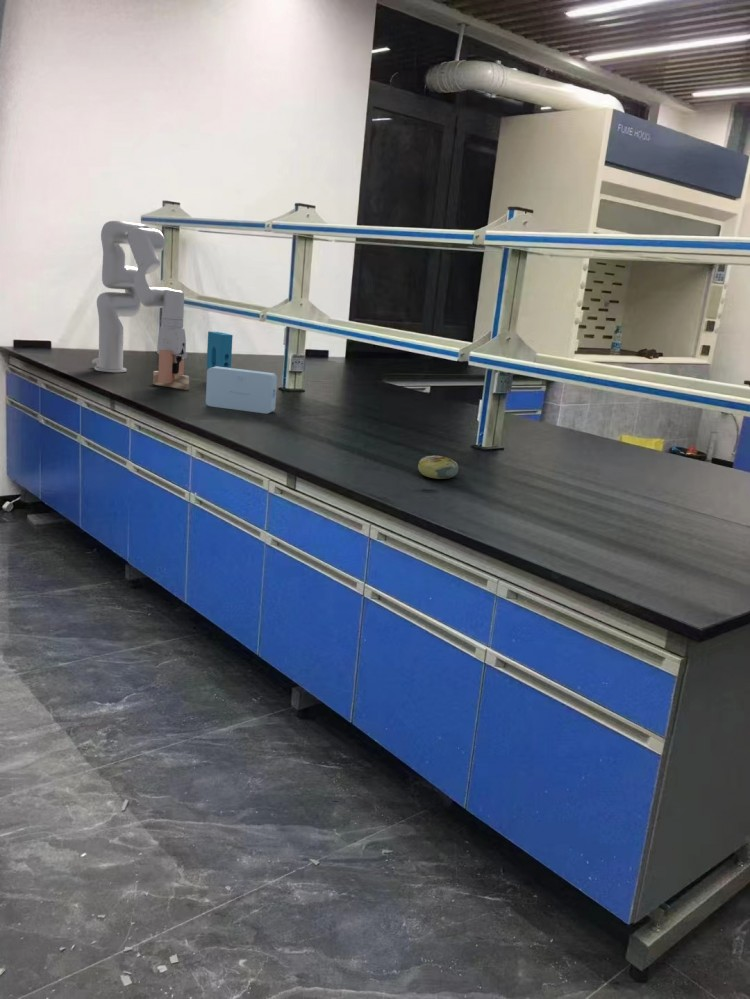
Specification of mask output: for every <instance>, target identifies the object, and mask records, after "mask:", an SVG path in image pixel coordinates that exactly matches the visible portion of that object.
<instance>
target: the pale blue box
mask: <svg viewBox="0 0 750 999" xmlns="http://www.w3.org/2000/svg"><path fill="white" fill-rule="evenodd" d="M277 384H278V376H277V375H276V373H275V372H266V371H260V370H251V369H241V368H234V367H231V368H226V367H218V366H216V367H212V368H209V369H208V370H207V369H206V387H205V388H206V389H205V390H206V391H205V405H207V407H213V408H220V409H221V408H222V409H230V410H236V411H245V412H253V413H259V414H260V413H261V414H265V415H266V414H269V413H272V412H274V411H275V409H276V402H277V401H276V400H277V389H278V388H277Z"/></svg>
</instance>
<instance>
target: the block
mask: <svg viewBox="0 0 750 999" xmlns="http://www.w3.org/2000/svg"><path fill="white" fill-rule="evenodd" d="M232 352H233V334H230V333H225V332H220V331H211V330H210V331H208V332H207V349H206V371H207V370H208V369H209V368H212V367H216V366H218V367H226V368H232Z"/></svg>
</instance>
